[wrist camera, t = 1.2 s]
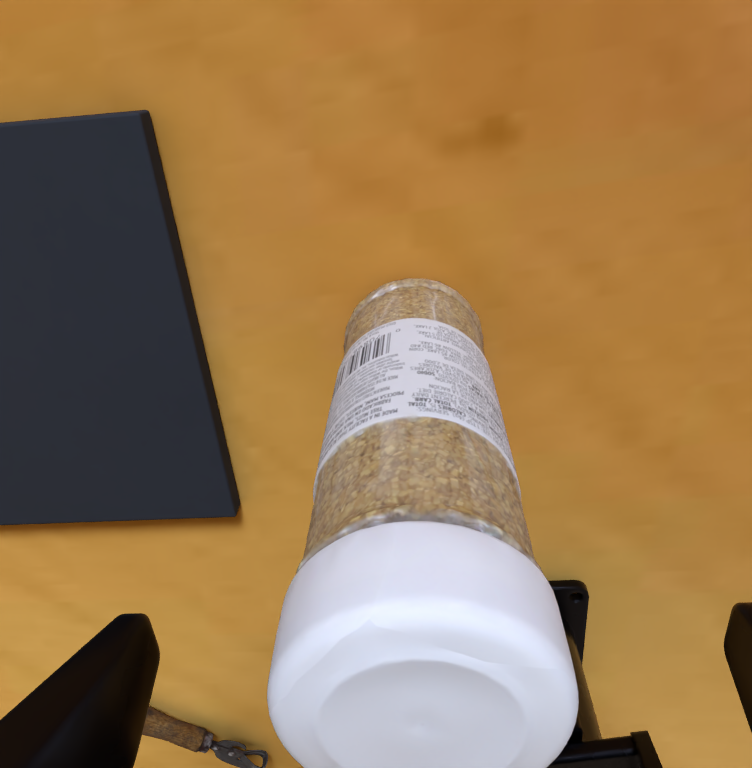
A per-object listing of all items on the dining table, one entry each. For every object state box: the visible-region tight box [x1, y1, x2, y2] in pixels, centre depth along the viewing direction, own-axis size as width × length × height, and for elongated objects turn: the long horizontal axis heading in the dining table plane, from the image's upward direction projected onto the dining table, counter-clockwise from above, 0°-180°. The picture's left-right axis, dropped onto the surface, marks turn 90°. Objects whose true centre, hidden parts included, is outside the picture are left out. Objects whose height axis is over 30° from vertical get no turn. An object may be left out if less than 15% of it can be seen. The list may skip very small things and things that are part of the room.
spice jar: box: [267, 278, 579, 768], centre depth 15 cm, size 5×5×14 cm
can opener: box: [142, 707, 268, 768], centre depth 30 cm, size 9×2×1 cm, turn 54°
